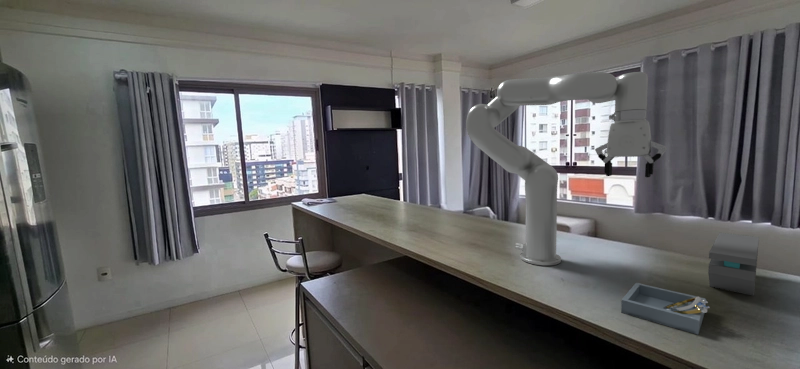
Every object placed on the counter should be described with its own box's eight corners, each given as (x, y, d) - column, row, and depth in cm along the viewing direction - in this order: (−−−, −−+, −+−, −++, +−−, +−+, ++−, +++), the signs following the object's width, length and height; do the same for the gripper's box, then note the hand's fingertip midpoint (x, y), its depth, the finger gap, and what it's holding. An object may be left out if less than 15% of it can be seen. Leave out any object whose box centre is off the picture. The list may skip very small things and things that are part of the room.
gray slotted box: (752, 305, 76) (756, 259, 74) (706, 294, 81) (709, 252, 80) (755, 275, 92) (759, 237, 91) (717, 268, 98) (719, 232, 97)
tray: (621, 312, 74) (621, 299, 74) (635, 294, 83) (635, 282, 83) (698, 334, 65) (699, 320, 64) (705, 311, 73) (706, 298, 73)
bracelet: (660, 319, 71) (703, 315, 65) (653, 304, 72) (694, 299, 66) (675, 312, 74) (717, 308, 68) (667, 297, 76) (708, 292, 69)
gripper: (592, 119, 98) (590, 176, 100) (665, 113, 86) (662, 178, 88) (600, 120, 103) (598, 174, 105) (670, 115, 91) (667, 176, 93)
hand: (627, 176), depth 96 cm, fingers open, 9 cm apart
